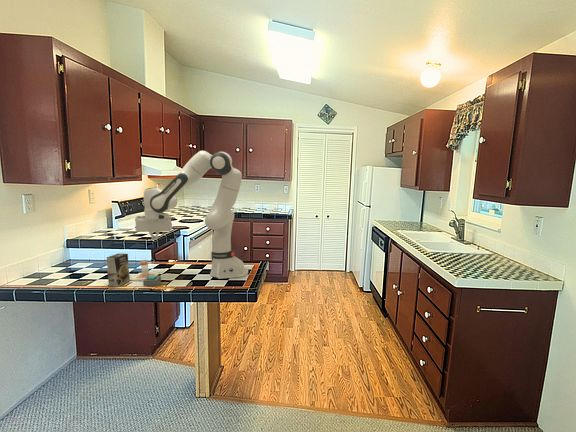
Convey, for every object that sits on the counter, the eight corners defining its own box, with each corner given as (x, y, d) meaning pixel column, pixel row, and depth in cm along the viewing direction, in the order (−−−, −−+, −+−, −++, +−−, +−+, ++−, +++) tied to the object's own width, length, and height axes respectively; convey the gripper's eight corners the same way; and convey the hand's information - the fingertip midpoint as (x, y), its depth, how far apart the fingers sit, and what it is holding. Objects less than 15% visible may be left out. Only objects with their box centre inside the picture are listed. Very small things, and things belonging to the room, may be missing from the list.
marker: (150, 274, 184) (148, 259, 183) (147, 276, 180) (145, 261, 179) (143, 274, 184) (142, 259, 183) (141, 276, 180) (139, 261, 179)
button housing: (161, 281, 175) (160, 276, 175) (156, 285, 168) (156, 280, 168) (148, 281, 175) (148, 276, 175) (143, 286, 168) (142, 280, 168)
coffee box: (118, 287, 167) (116, 257, 164) (108, 286, 168) (105, 257, 166) (130, 281, 176) (128, 253, 173) (120, 280, 177) (118, 252, 175)
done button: (156, 278, 173) (156, 275, 173) (154, 280, 170) (154, 277, 169) (150, 278, 173) (149, 275, 173) (147, 280, 169) (147, 277, 169)
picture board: (159, 273, 188) (159, 272, 188) (152, 280, 176) (152, 278, 176) (139, 274, 188) (139, 272, 188) (130, 281, 176) (130, 279, 176)
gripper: (132, 216, 177) (134, 240, 179) (168, 216, 178) (170, 239, 180) (137, 215, 184) (139, 238, 186) (172, 214, 184) (173, 237, 186)
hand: (154, 238), depth 183 cm, fingers closed
